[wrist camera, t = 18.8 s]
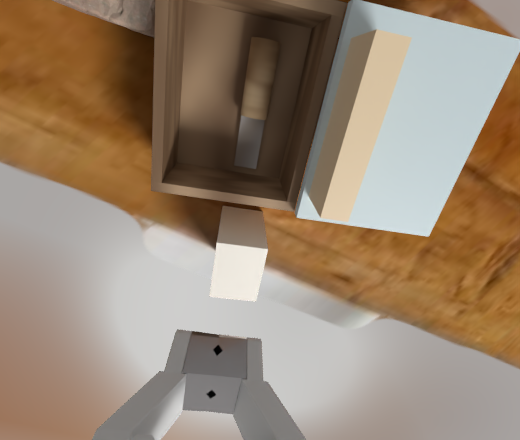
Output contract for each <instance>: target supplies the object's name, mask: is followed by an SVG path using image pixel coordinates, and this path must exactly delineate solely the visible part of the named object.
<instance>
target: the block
mask: <svg viewBox="0 0 520 440" xmlns="http://www.w3.org/2000/svg"><path fill="white" fill-rule="evenodd" d="M267 251H268V246H267V239H266V232H265V225H264V217H263V211H256V210H249V209H242V208H235V207H228V206H223V207H222V213H221V219H220V225H219V232H218V238H217V244H216V252H215V259H214V267H213V274H212V281H211V289H210V297H217V298H227V299H236V300H245V301H255V302H256V300H257V296H258V291H259V287H260V282H261V278H262V274H263V269H264V265H265V260H266V256H267Z"/></svg>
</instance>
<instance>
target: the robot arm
mask: <svg viewBox="0 0 520 440" xmlns="http://www.w3.org/2000/svg"><path fill="white" fill-rule="evenodd" d="M262 364H263V363H262V342H261V339H257V338H246V337H239V336H229V335H216V334H209V333H202V332H194V331H186V330H177V331H176V333H175V336H174V340H173V343H172V347H171V350H170V353H169V357H168V360H167V364H166V367H165V371H164V372H163V371H162V372H161V371H159V372H158V374H156V375H155V376H154V377H153V378H152V379H151V380H150V381H149V382H148V383H147V384H146V385H144V386H143V387H142V388H141V389H140V390H139V391H138V392H137V393H136V394H135V395H133V396H132V397H131V398H130V399H129V400H128V401H127V402H126V403H125V404H124V405H123V406H122V407H120V409H118V410H117V411H116V412H115V413H114V414H113V415H112V416H111V417H110V418H109V419H107V421H105V422H104V423H103V424H102V425H101V426H100V427H99V428H98V429H97V430H96V432H95V434H94V437H93V439H92V440H161V439H162V437H163V436H164V435H165V434H166V432H167V431H168V430H169V428H170V427H171V426H172V424H173V423H174V422H175V421H176V419H177V418H178V417H179V415H180V414H181V413H182V410H192V411H209V412H218V413H227V414H233V416H234V419H235V421H236V423H237V426H238V428H239V430H240V432H241V435H242V437H243V439H244V440H306V439H305V437H304V436H303V434H302V433H301V431H300V430H299V428H298V427H297V425H296V424H295V422H294V421H293V419H292V418H291V416H290V415H289V413H288V412H287V410H286V409H285V407H284V406H283V404H282V403H281V401H280V400H279V398H278V397H277V395H276V394H275V392H274V391H273V389H272V388H271V386H270V385H269V384H268V382H266V381H263V365H262Z"/></svg>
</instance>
